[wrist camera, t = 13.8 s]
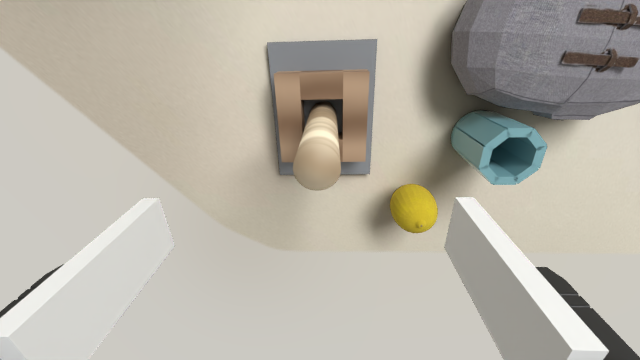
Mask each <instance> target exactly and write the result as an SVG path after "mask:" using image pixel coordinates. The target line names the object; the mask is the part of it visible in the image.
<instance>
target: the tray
mask: <svg viewBox="0 0 640 360" xmlns="http://www.w3.org/2000/svg"><path fill="white" fill-rule="evenodd" d="M267 46H268V57H269V67H270V77H271V87H272V98H273V108H274V118H275V128H276V139H277V149H278V159H279V169H280V175H294V173H293V163H294V162H282V159H281V149H280V138H279V127H278V116H277V106H276V95H275V84H274V74H275V73H277V72H279V71H317V70H356V69H367V70H368V71H369V72H370V74H369V95H368V117H367V138H366V160H365V162H340V163H341V173H340V174H370V160H371V142H372V123H373V105H374V87H375V69H376V51H377V39H368V40H335V41H302V42H269V43H267ZM321 101H326V102H329V103H330V104H332V105H333V106H334V108H335V110H336V115H337V127H338V133H342V99H317V100H304V118H305V126H306V123H307V120H308V117H309V114H310V111H311V108H312V107H313V106H314V105H315V104H316V103H318V102H321Z"/></svg>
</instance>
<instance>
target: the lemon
mask: <svg viewBox="0 0 640 360" xmlns="http://www.w3.org/2000/svg"><path fill="white" fill-rule="evenodd" d="M390 210H391V214H392V216H393V218H394V220H395V222H396V223H397V224H398V225H399V226H400V227H401V228H402V229H404V230H406V231H408V232H411V233H422V232H424V231H427V230H428V229H430V228H431V227H432V226H433V225H434V223H435V222H436V219H437V214H438V209H437V205H436V202H435V199H434V197H433V196H432V195H431V193H430V192H429V191H428V190H426V189H425V188H424V187H422V186H420V185H416V184H407V185H403V186H401V187H399V188H398V189H397V190H396V191H395V192H394V193H393V195H392V197H391V200H390Z"/></svg>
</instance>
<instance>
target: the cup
mask: <svg viewBox="0 0 640 360" xmlns="http://www.w3.org/2000/svg"><path fill="white" fill-rule="evenodd" d="M451 144H452V146H453V148H454V150H455V151H456V152H457V153H458V154H459V155H460V156H461V157H462V158H463V159H464V160H465V161H466V162H467V163H468V164H470V165H471V166H472V167H473V168H474V169H475V170H476V171H477V172H479V173H480V174H481V175H482V176H483V177H484V178H485V179H486V180H488V181H489V182H490V183H491V184H493V185H516V183H517V184H518V183H520V182H521V181H523V180H524V179H526V178H527V177H529V176H530V175H532V174H533V173H534V172H536V171H537V170H539V169H538V168H540V166H541V163H542V161H543V158H544V155H545V152H546V149H547V146H546V145H547V144H546V143H545V141H544V140H543V139H542V137H541V136H540V135H539V133H538V132H537V131H536V129H535V128H532V127H530V126H527V125H525V124H523V123H520V122H518V121H516V120H513V119H511V118H508V117H506V116H504V115H501V114H499V113H497V112H489V111H485V110H478V111H473V112H470V113H468V114H466V115H465V116H463V117H462V118H461V119H460V120H459V121H458V122H457V123H456V125H455V126H454V128H453V130H452V133H451Z"/></svg>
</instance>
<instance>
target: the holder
mask: <svg viewBox="0 0 640 360" xmlns="http://www.w3.org/2000/svg"><path fill="white" fill-rule="evenodd" d="M369 74H370V72H369V71H368V70H367V69H356V70H317V71H279V72H277V73H275V74H274V84H275V95H276V106H277V116H278V127H279V138H280V149H281V159H282V162H294V160H295V157H296V154H297V151H298V148H299V145H300V141H301V138H302V135H303V132H304V129H305V118H304V100H317V99H342V133H338V139H339V151H340V162H365V160H366V138H367V117H368V95H369Z"/></svg>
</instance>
